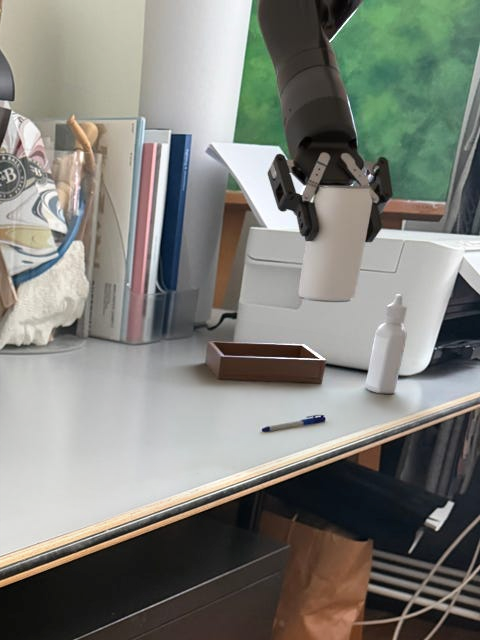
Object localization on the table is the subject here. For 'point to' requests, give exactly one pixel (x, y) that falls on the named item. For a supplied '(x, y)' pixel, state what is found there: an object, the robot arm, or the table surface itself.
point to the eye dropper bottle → (388, 350)
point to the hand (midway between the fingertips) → (342, 236)
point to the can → (336, 244)
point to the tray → (264, 362)
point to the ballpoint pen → (295, 423)
